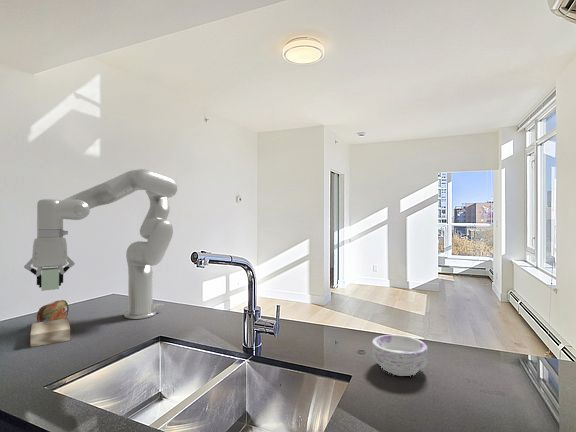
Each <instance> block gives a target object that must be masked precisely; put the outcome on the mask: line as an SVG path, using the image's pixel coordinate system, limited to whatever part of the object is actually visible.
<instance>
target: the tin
mask: <svg viewBox="0 0 576 432" xmlns="http://www.w3.org/2000/svg"><path fill="white" fill-rule="evenodd" d="M68 314H69V304H68V302H67V301H66V300H64V299H61V300H56V301H53V302H50V303H48V304H45V305H43V306H41V307H40V308H39V309H38V311H37V314H36V323H38V322H45V321H52V320H59V319H65V318H67V317H68Z"/></svg>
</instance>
